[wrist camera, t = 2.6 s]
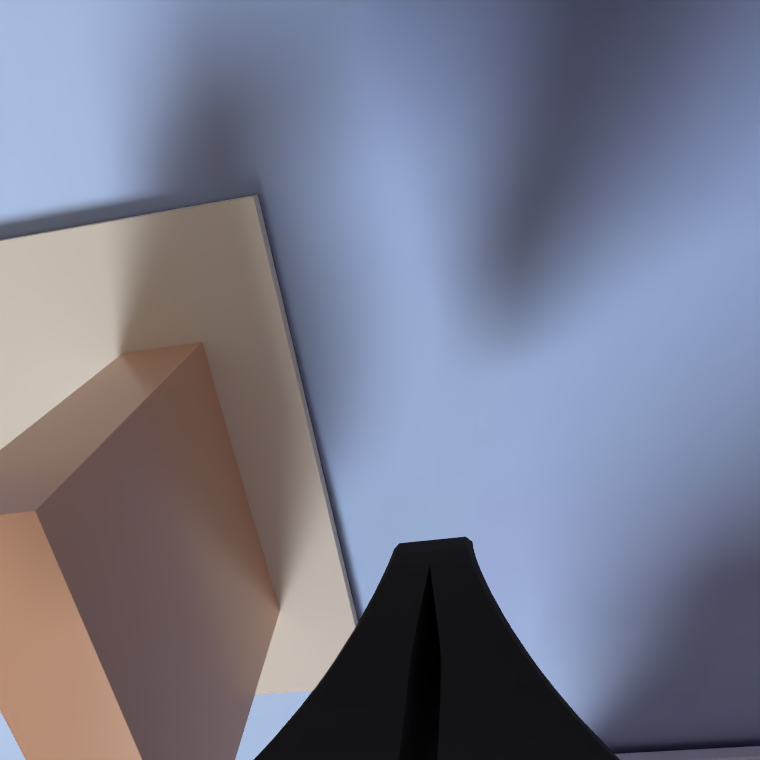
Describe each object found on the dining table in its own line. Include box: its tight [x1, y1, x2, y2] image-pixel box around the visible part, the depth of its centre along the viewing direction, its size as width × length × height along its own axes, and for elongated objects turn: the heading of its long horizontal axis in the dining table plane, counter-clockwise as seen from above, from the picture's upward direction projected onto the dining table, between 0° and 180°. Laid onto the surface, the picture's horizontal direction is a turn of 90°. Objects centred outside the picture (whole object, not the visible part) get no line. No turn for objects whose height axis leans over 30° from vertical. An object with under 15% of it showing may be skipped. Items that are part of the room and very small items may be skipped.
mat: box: [0, 195, 358, 713], centre depth 18 cm, size 13×14×1 cm
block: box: [0, 342, 280, 760], centre depth 14 cm, size 2×8×7 cm, turn 10°
